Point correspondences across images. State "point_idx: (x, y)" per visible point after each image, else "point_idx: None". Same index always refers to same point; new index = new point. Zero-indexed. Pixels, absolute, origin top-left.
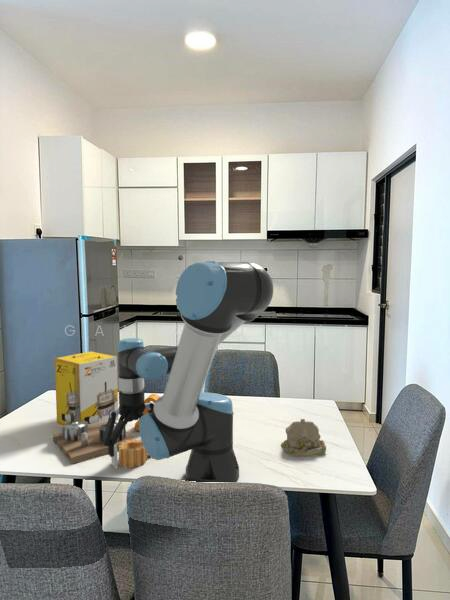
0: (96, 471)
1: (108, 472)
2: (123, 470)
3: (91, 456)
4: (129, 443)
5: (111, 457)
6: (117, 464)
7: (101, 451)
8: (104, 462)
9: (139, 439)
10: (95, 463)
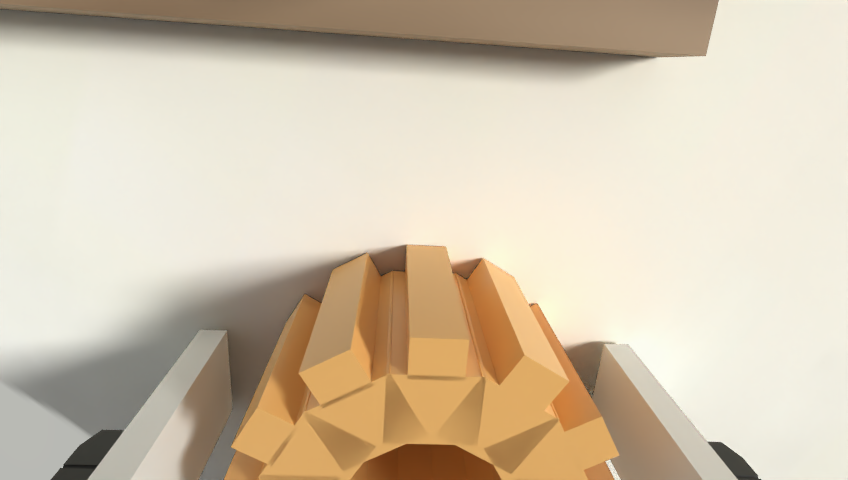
0: (31, 343)
1: None
2: None
3: (12, 8)
4: (415, 439)
5: (165, 376)
6: (223, 427)
7: (147, 16)
8: (154, 222)
9: (596, 425)
10: (54, 178)
